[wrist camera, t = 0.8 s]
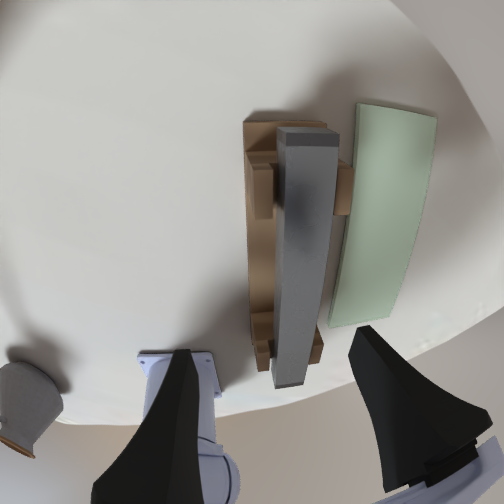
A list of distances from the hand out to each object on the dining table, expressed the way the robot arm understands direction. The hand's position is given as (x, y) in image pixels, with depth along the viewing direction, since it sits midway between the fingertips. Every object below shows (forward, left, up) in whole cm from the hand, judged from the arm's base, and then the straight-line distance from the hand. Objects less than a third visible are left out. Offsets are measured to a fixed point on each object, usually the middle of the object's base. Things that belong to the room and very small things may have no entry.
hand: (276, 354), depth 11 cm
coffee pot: (-15, +33, -11) cm, 38 cm away
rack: (-1, -2, -10) cm, 11 cm away
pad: (0, -11, -10) cm, 15 cm away
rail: (-1, -2, -6) cm, 7 cm away
